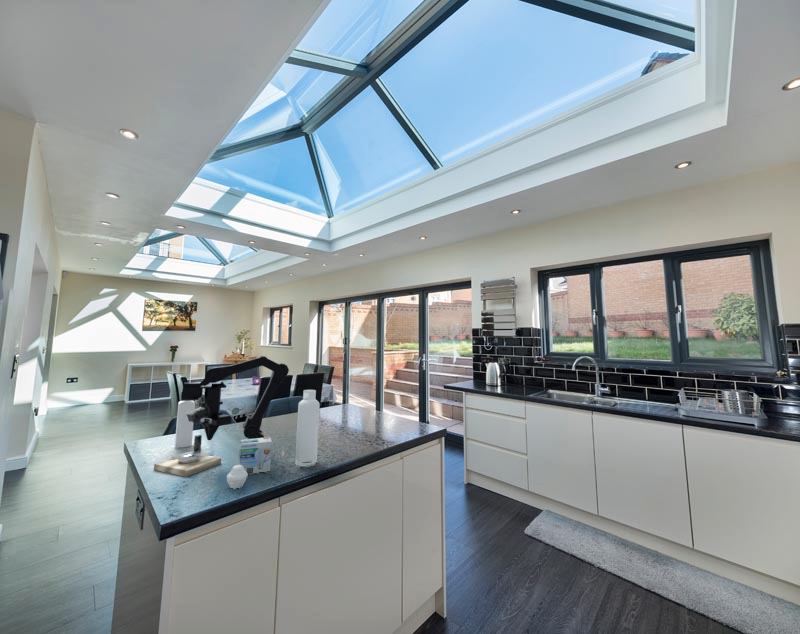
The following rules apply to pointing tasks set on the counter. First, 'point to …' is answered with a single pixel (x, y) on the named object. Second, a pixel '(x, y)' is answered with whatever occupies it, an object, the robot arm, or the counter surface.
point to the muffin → (237, 476)
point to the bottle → (307, 429)
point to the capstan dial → (193, 455)
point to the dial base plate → (187, 465)
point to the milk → (184, 424)
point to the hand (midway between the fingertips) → (209, 440)
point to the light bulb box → (255, 454)
